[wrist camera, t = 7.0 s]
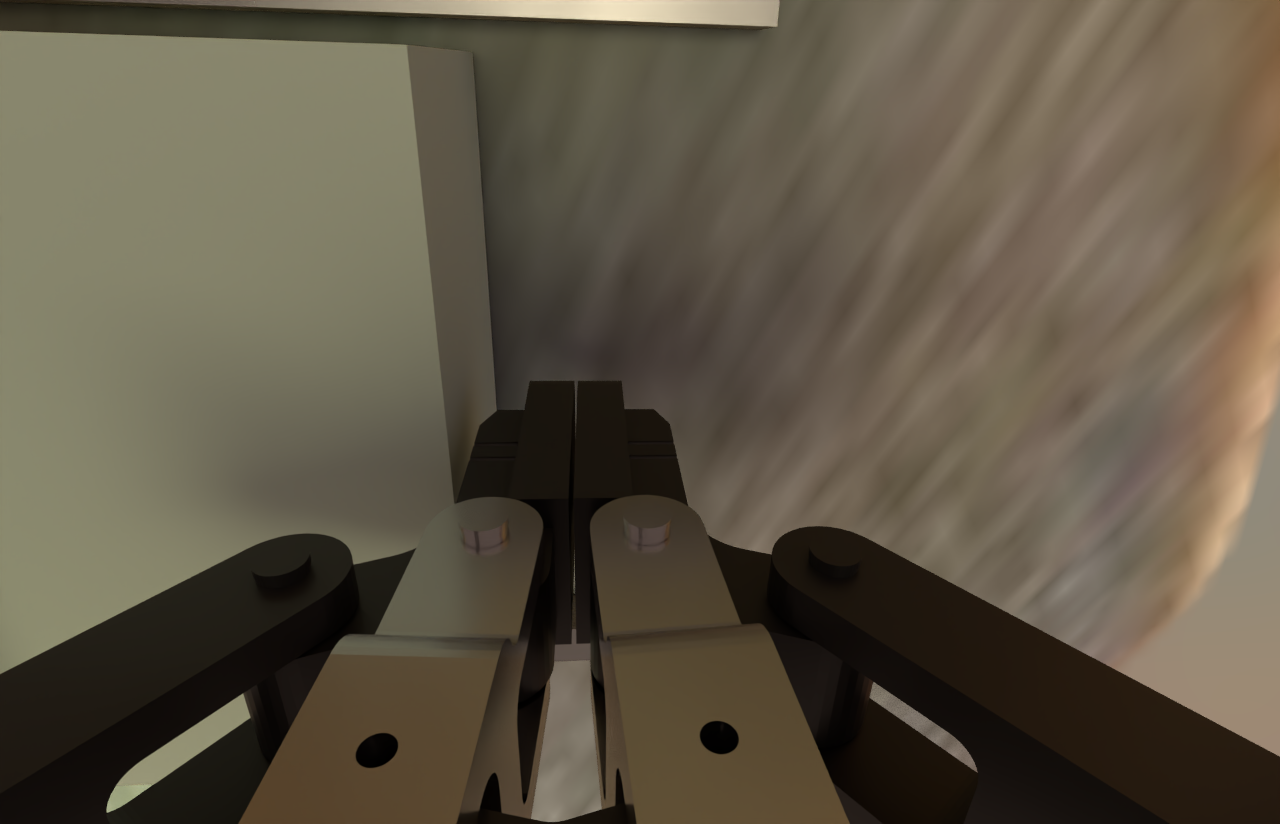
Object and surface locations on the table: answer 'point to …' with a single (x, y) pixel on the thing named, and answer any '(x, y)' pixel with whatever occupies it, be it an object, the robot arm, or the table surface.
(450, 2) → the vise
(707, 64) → the table surface
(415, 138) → the sliding jaw
